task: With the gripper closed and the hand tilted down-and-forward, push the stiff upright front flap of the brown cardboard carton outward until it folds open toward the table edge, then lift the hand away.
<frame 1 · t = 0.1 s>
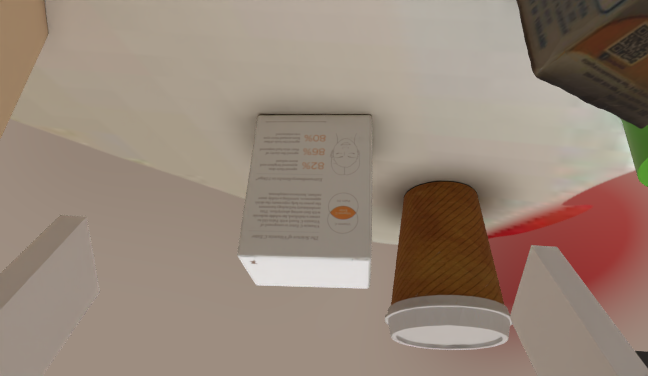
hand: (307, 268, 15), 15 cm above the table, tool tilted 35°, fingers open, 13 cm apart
small box: (318, 133, 35), on the table
disposable coffee cup: (440, 196, 43), on the table
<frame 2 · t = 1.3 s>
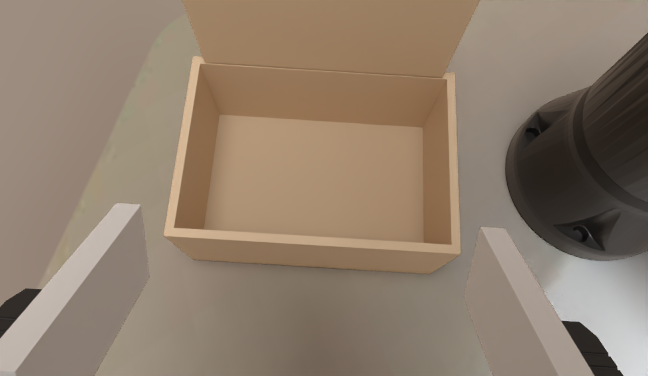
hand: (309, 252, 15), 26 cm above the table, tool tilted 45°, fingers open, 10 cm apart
carton flap: (326, 14, 31), point 15 cm above the table, hinge at 0.0°
carton: (317, 188, 43), on the table
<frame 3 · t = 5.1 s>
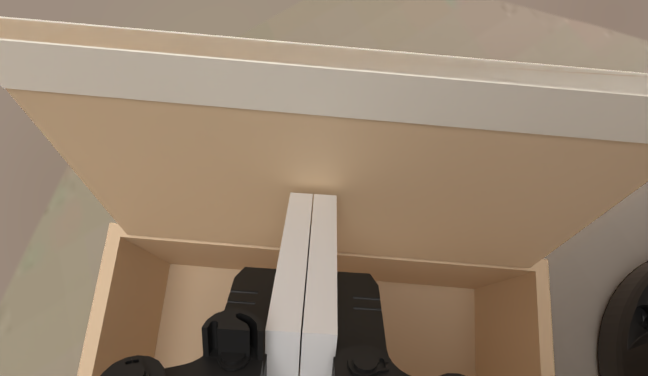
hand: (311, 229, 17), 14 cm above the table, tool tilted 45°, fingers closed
carton flap: (340, 182, 16), point 15 cm above the table, hinge at 10.3°, touching gripper
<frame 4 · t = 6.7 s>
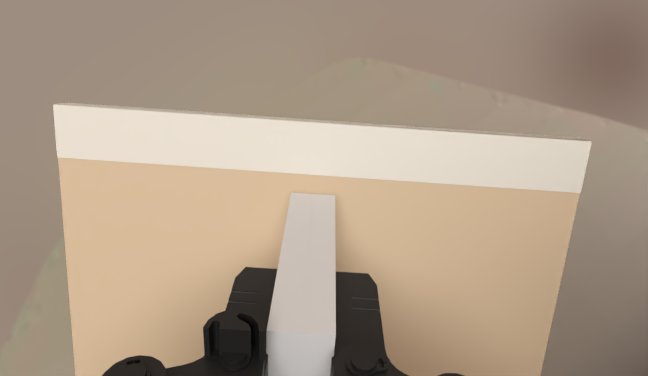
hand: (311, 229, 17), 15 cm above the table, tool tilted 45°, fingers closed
carton flap: (312, 282, 18), point 13 cm above the table, hinge at 56.1°, touching gripper
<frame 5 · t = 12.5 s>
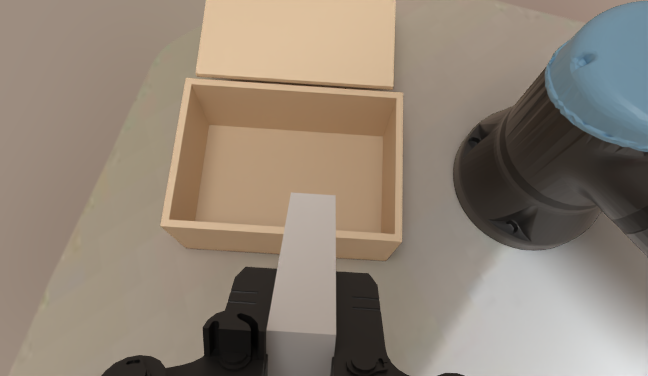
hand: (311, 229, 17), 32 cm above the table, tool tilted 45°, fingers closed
carton flap: (299, 24, 46), point 10 cm above the table, hinge at 86.6°
carton: (291, 188, 51), on the table
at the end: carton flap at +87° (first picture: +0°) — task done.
